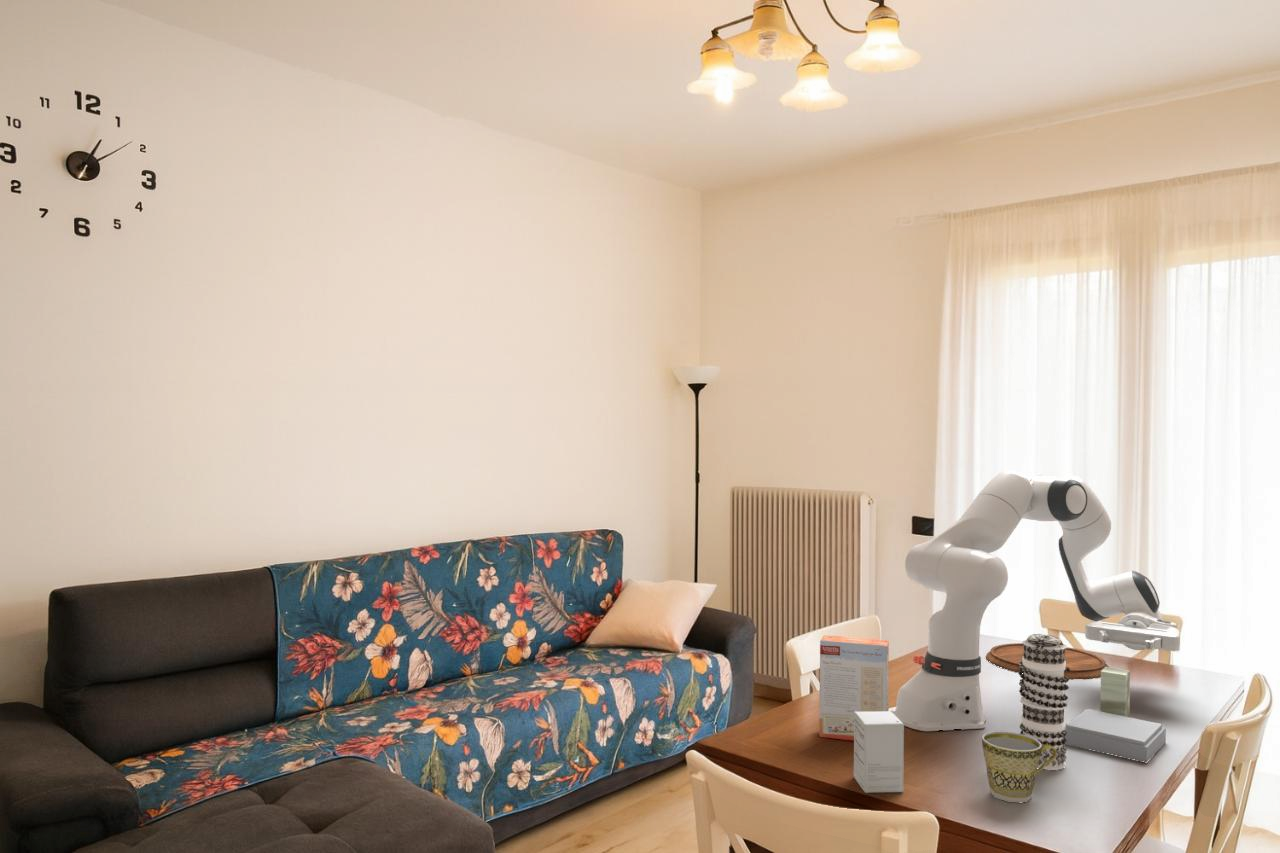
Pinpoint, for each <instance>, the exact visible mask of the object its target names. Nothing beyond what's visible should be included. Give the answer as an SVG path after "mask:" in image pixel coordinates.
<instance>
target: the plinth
mask: <svg viewBox="0 0 1280 853" xmlns="http://www.w3.org/2000/svg"><path fill="white" fill-rule="evenodd" d="M1065 730H1066V731H1067V734H1066V735H1065V736H1064V737H1065V739H1066V740H1067V741H1066V743H1065V744H1064V745H1065V746H1067V745H1068V746H1069V747H1074V746H1075V748H1078V747H1081V748H1080V749H1083V748H1086V749H1085V750H1087V749H1091V750H1095V751H1099V752H1098V753H1100V752H1104V753H1109V754H1113V755H1117V756H1122V757H1125V758H1130V759H1135V760H1138V761H1144V762H1147V761H1148V760H1149V759H1150V758H1151V757H1152V756H1153V755H1154V754H1155V753H1156V752H1157V751H1158V750H1159V749H1160V748H1161V747H1164V746H1165V744H1166V742H1167V740H1166V736H1167V735H1166V734H1167V728H1166V727H1163V724H1162V723H1157V722H1153V721H1147V720H1145V719H1138V718H1134V717H1130V716H1129V717H1125V716H1120V715H1115V714H1110V713H1105V712H1100V710H1095V709H1091V708H1085V710H1083V711H1082V712H1080V713H1079V714H1077V715H1076V716H1075V717H1074V718H1072V719H1071V720H1070V721H1069V722H1067V723H1065ZM1161 749H1162V748H1161ZM1161 749H1160V750H1161ZM1091 750H1090V751H1091ZM1160 750H1159V751H1160ZM1095 751H1094V752H1095ZM1159 751H1158V752H1159ZM1158 752H1157V753H1158ZM1104 753H1103V754H1104ZM1157 753H1156V754H1157ZM1156 754H1155V755H1156ZM1155 755H1154V756H1155ZM1117 756H1116V757H1117ZM1154 756H1153V757H1154ZM1153 757H1152V758H1153ZM1125 758H1124V759H1125ZM1152 758H1151V759H1152ZM1130 759H1129V760H1130ZM1138 761H1137V762H1138Z"/></svg>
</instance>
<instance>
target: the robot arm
mask: <svg viewBox="0 0 1280 853" xmlns="http://www.w3.org/2000/svg"><path fill="white" fill-rule="evenodd" d="M1022 519H1023V520H1024V519H1026V520H1032V521H1037V522H1058V524H1059V525H1060V527H1061V530H1062V535H1061V537H1060V538H1059V539H1058V551H1059V556H1060V559H1061V561H1062V564H1063V566H1064V567H1063V568H1064V570H1065V573H1066V576H1067V579H1068V582H1069V584H1070V586H1071V589H1072V592H1073V595H1074V600H1075V604H1076V607H1077V610H1078V611H1079V613H1080V615H1081V616H1083V618H1085V619H1087V620H1090V622H1088V623H1087V624H1085V627H1084V628H1085V630H1084V633H1085V634H1084V635H1085V639H1087V640H1090V641H1096V642H1101V643H1107V644H1109V643H1113V644H1117V645H1118V644H1119V645H1122V646H1123V645H1124V647H1126V648H1128V649H1130V650H1133V651H1144V650H1149V651H1150V650H1163V651H1170V652H1180V650H1181V632H1180V630H1179V629H1178V626H1177V623H1175V622H1172V621H1169V620H1168V621H1167V620H1164V618H1163V616H1162V613H1161V611H1159V608H1160V603H1161V602H1160V599H1159V595H1158V593H1157V590H1156V589H1155V586H1154V585H1153V582H1151V580H1150V579H1149V578H1148V577H1147V576H1145V575H1143V574H1142V573H1140V572H1138V571H1135V570H1132V571H1127V572H1123V573H1119V574H1115V575H1113V576H1109V577H1105V578H1102V579H1098V580H1097V579H1096V580H1089V579H1088V577H1087V574H1086V571H1085V569H1084V566H1083V563H1082V561H1083V559H1084V558H1085V557H1087V556H1088V555H1089V554H1090V553H1092V552H1093V551H1095V550H1096V549H1098V548H1099V547H1101V546H1102V545H1103V544H1104V543H1105V542H1106V541H1107V539H1108V538H1109V537H1110V536H1109V535H1110V533H1111V530H1112V522H1111V519H1110V516H1109V514H1108V511H1107V510H1106V508H1105V506H1104V504H1103V503H1102V502H1101V500H1100V499H1099V496H1097V495H1096V493H1095V492H1094V490H1092V488H1091V487H1090V486H1089V485H1088V484H1087V483H1086V482H1085V481H1084V479H1082V478H1081V477H1079V476H1076V475H1064V476H1059V477H1057V476H1049V475H1048V476H1047V475H1046V476H1045V475H1027V476H1026V475H1025V474H1023V473H1021V472H1019V471H1016V470H1013V469H1012V470H1003V471H1001V472H999V473H998V474H997V475H996V476H994V477H993V478H991V480H989V481H988V483H986V485H984V487H983V488H982V489H981V491H979V493H978V494H977V495H976V497H975V499H974V500H973V501H972V503H971V504H970V505H969V507H968V508H967V509H966V510H965V511H964V512H963V514H962V515H961V517H960V518H959V519H958V520H957V521H956V522H955V523H953V524H952V525H950V527H948V528H947V529H945V530H944V531H942V532H941V533H940V534H938V535H937V536H935V537H933V538H932V539H929V540H927V541H925V542H922V543H919V544H916V545H914V546H912V547H911V548H910V549H909V551H908V553H907V555H906V557H905V562H904V563H905V565H904V566H905V572H906V575H907V576H908V578H909V579H910V580H911V581H912V582H914V583H915V584H917V585H919V586H921V587H924V588H925V589H927V590H932V591H936V592H941V593H945V594H946V596H945V597H946V598H945V602H944V605H943V607H942V609H941V610H939V611H938V610H937V611H936V612H935V613H933V614H932V615H931V616H930V618H929V620H928V644H927V645H928V648H927V651H926V652H925V655H924V656H923V655H920V654H919V653H917V654H914V655H913V656H912V661H913V663H915V664H918V665H920V666H921V669H920V670H919V671H918V672H916V674H914V675H913V676H912V677H911V678H910V679H909V680H908V681H907V682H905V684H903V685H902V686H900V688H899V689H898V692H897V696H896V703H895V704H896V705H895V706H893V707H888V711H891V712H892V713H893V714H894V715H895V716H896V717H897V718H898V719H899V720H900V721H901V722H902V723H903V724H904V727H907V728H909V729H913V730H918V731H921V732H938V731H939V730H943V731H955V730H954V729H961V730H975V729H984V728H986V727H985V726H986V725H985V723H986V719H987V718H986V714H985V710H984V706H983V701H982V699H983V698H982V691H981V684H980V674H981V672H982V658H981V656H980V635H981V634H980V633H981V625H982V619H983V616H984V614H985V611H986V610H987V608H988V606H989V605H990V604H991V603H992V602H993V601H994V600H995V599H996V598H998V597H1000V596H1001V595H1002V594H1003V593H1004V591H1005V589H1006V587H1007V585H1008V579H1009V573H1008V568H1007V566H1006V564H1005V562H1004V561H1003V560H1002V559H1001V558H1000V557H998V556H996V555H994V554H991V553H994V552H997V551H998V550H1000V549H1001V548H1002V547H1003V546H1004V545H1005V543H1006V542H1007V541H1008V539H1009V538H1010V536H1011V535H1012V533H1013V532H1014V531H1015V529H1016V528H1017V527H1018V525H1019V523H1020V522H1021V521H1022ZM1119 615H1123V616H1122V617H1121V618H1120V619H1119V620H1118V622H1117V623H1115V622H1106V621H1104V620H1106V619H1109V618H1110V617H1115V616H1119ZM1102 620H1103V621H1102Z"/></svg>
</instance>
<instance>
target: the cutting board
mask: <svg viewBox="0 0 1280 853" xmlns="http://www.w3.org/2000/svg"><path fill="white" fill-rule="evenodd" d="M1023 648H1024V644H1023V643H1022V642H1019V643H1004V644H998V645H995V646H993V647H992V648H990V650H989V651H988V652H987V653H986V656H985V658H987V659H986V660H989V661H990V662H991V663H993V664H995V665H997V666H999V667H998V668H1000V667H1002V668H1001V669H1003V668H1005V669H1008V670H1007V671H1009V670H1011V671H1010V672H1012V671H1015V672H1014V673H1017V672H1020V668H1019V666H1018V665H1019V662H1020V661H1022V658H1023V656H1024V654H1023ZM989 661H988V662H989ZM1065 661H1066V667H1068V668H1070V670H1069V671H1067V672H1066V671H1064V676H1066V677H1068V678H1069V680H1070V679H1071V680H1073V679H1083V680H1094V679H1093V678H1095V679H1099V678H1100V679H1101V671H1102V670H1103V669H1104V668H1105V667H1110V666H1109V664H1107V662H1106V661H1105V659H1104V658H1102V657H1100V656H1098V655H1096V654H1094V653H1091V652H1088V651H1085V650H1084V651H1083V650H1080V649H1076V648H1072V647H1067V648H1065ZM990 662H989V663H990ZM991 663H990V664H991ZM993 664H992V665H993ZM995 665H994V666H995ZM997 666H996V667H997ZM1005 669H1004V670H1005ZM1071 680H1070V681H1071ZM1073 681H1074V680H1073Z"/></svg>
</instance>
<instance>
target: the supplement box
mask: <svg viewBox="0 0 1280 853" xmlns="http://www.w3.org/2000/svg"><path fill="white" fill-rule="evenodd" d="M904 729H905V726H904V724H903V723H902V722H901V721H900V720H899V719H898V718H897V717H896V716H895V715H894V714H893V713H892V712H891V711H879V712H854V741H853V777H854V779H855V781H856V782H857V784H858V785H859V786H860V788H861V789H862V791H863V792H864V793H865V794H867V793H903V792H904V766H905V764H904V762H905V761H904V758H905V757H904V754H905V753H904V750H905V749H904V747H905V736H904V735H905V732H904V731H905V730H904Z"/></svg>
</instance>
